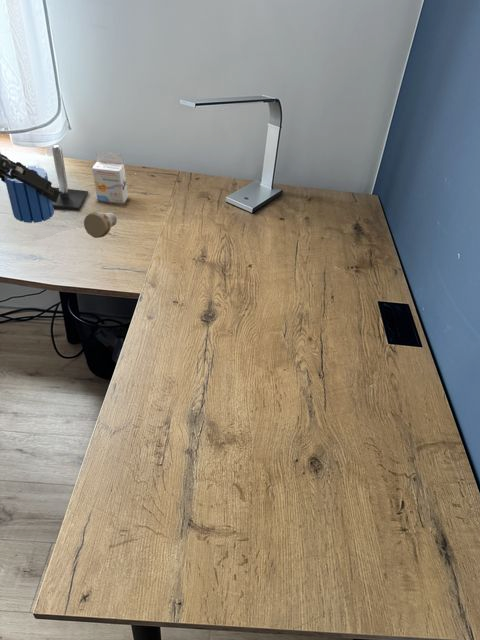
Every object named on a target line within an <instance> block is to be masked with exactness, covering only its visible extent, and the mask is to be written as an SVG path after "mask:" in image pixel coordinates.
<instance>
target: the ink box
mask: <svg viewBox="0 0 480 640" xmlns="http://www.w3.org/2000/svg"><path fill="white" fill-rule="evenodd" d="M95 157H96V162H95V163H94V165H93V166H92V168H91V169H92V175H93V176H92V177H93V181H94V188H95V192H96V199H97V201H101V202H109V203H116V204H117V203H118V204H125V202H126V201H127V200H128V198H129V192H128V185H127V178H126V170H125V164H124V158H123V154H122V153H115V152H107V151H95ZM110 157H111V158H110Z"/></svg>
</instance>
